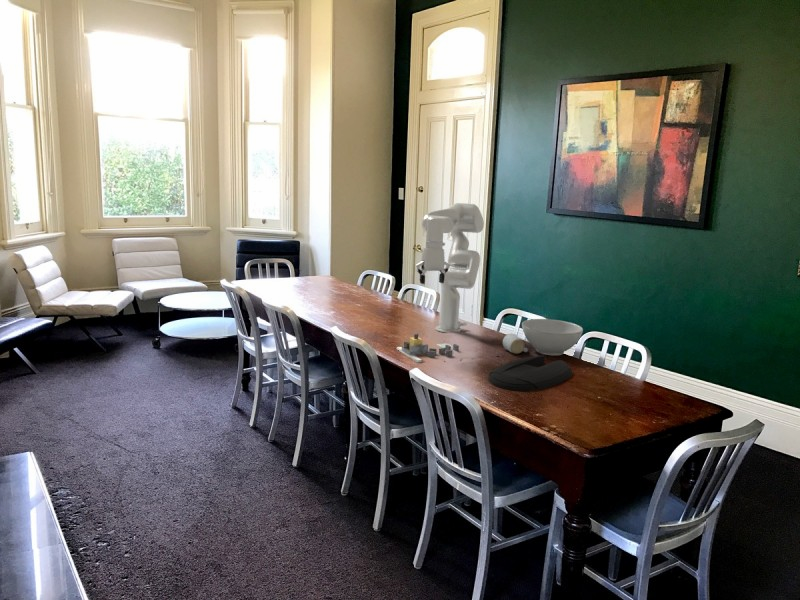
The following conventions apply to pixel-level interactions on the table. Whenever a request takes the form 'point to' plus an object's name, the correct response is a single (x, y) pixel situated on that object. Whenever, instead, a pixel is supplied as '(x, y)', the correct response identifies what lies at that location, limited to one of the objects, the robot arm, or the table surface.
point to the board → (434, 351)
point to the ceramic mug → (514, 344)
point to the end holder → (414, 348)
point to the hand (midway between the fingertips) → (431, 283)
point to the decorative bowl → (551, 335)
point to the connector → (415, 340)
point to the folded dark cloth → (530, 374)
